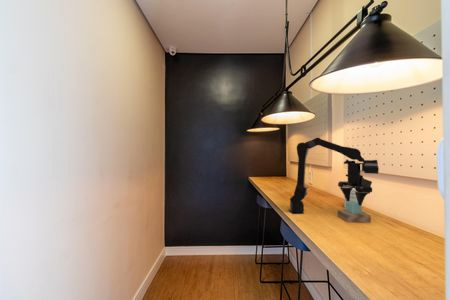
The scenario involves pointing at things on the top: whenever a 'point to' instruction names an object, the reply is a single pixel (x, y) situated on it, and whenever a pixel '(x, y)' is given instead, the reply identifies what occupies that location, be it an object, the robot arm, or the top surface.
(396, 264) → the top surface
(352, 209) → the teal cube
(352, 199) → the supplement box
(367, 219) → the walnut block
